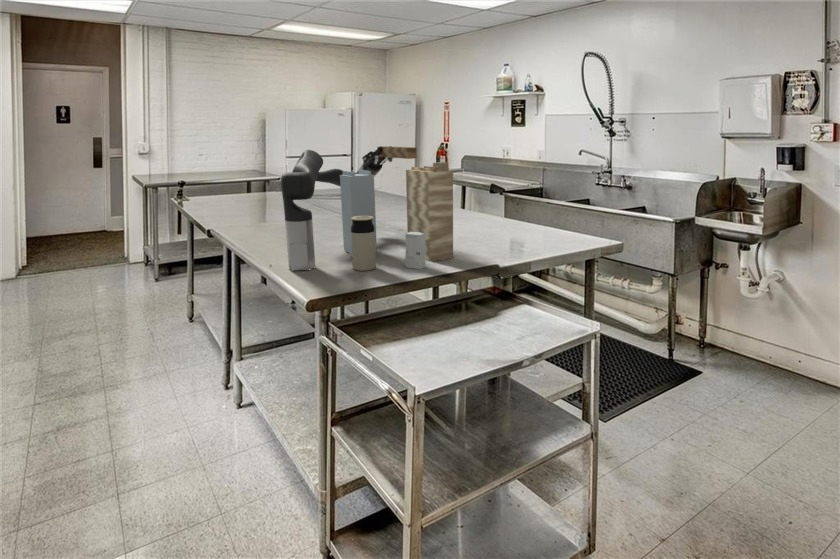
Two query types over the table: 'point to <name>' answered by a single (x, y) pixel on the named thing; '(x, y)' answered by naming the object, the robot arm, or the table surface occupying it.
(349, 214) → the slate pedestal
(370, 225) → the travel mug
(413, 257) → the skincare box
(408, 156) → the walnut rail
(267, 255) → the table surface
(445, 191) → the birch stand
